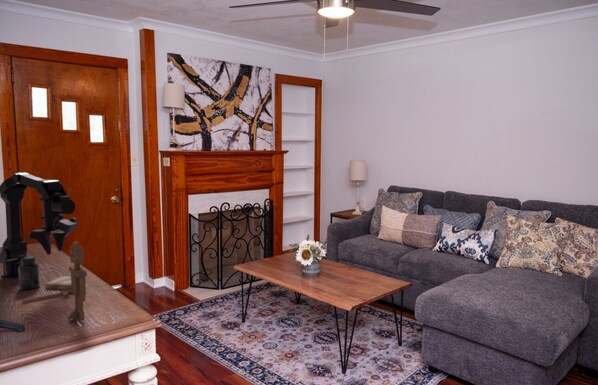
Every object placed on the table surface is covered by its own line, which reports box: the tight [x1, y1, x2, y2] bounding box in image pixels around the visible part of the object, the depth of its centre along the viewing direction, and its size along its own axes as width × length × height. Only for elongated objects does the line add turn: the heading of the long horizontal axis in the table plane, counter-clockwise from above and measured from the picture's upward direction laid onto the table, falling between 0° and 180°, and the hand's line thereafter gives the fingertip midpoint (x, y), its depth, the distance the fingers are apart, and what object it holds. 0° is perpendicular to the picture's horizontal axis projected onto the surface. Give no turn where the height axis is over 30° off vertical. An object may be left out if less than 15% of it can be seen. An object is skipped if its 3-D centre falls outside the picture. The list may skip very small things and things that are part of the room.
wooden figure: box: [21, 240, 88, 328], centre depth 133 cm, size 14×18×25 cm
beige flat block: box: [44, 275, 72, 291], centre depth 172 cm, size 10×10×3 cm
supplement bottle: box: [18, 255, 41, 291], centre depth 168 cm, size 7×7×12 cm
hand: (54, 252), depth 169 cm, fingers open, 6 cm apart
